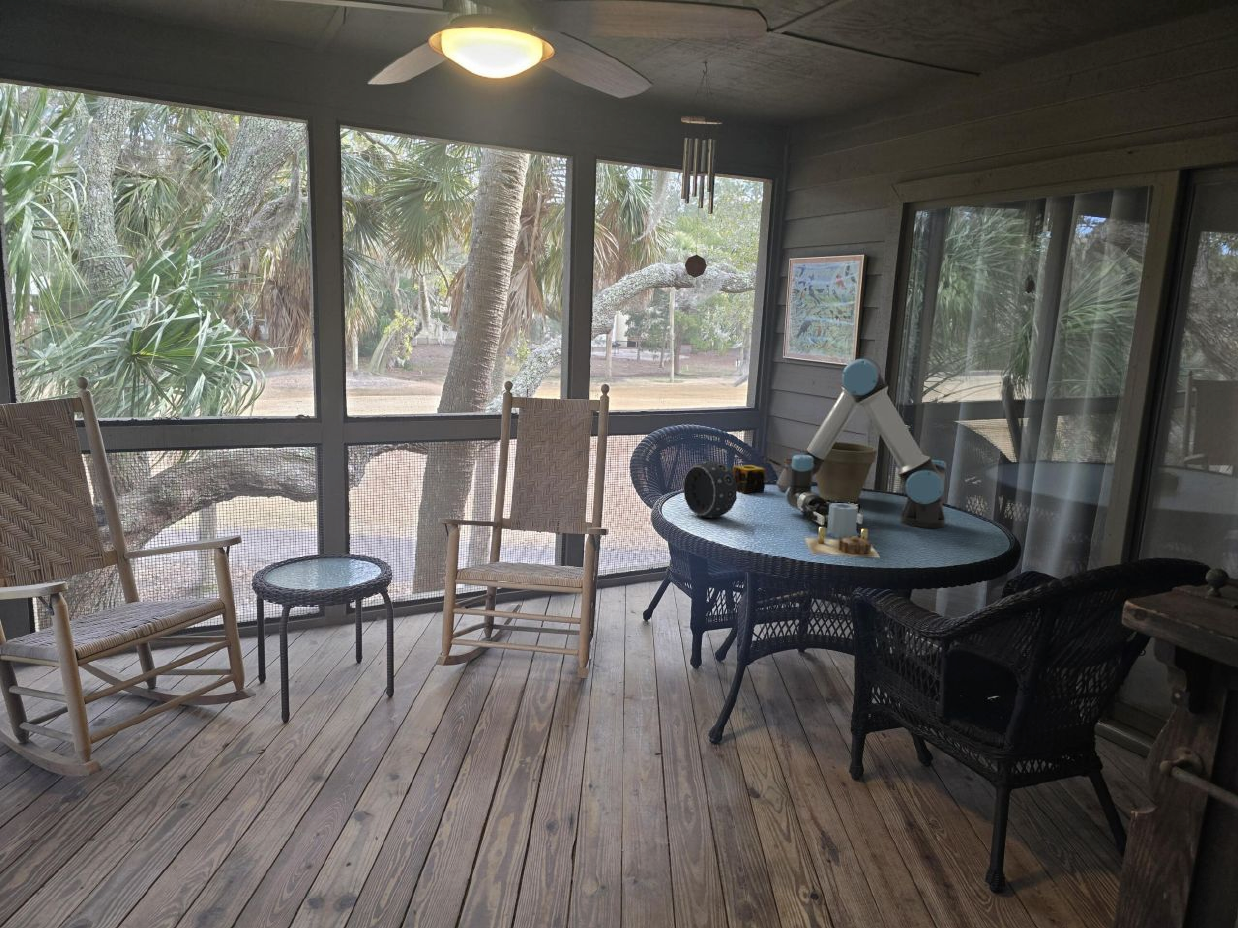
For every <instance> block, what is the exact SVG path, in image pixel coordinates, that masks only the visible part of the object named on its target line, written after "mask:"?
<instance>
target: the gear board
mask: <svg viewBox="0 0 1238 928" xmlns="http://www.w3.org/2000/svg"><path fill="white" fill-rule="evenodd" d="M804 540H805V542H806V545H807V546H808V549H809V551H810V554H816V555H818V554H819V555H830V556H831V555H832V556H835V555H836V556H847V557H848V556H849V557H861V558H862V557H863V558H864V557H866V558H879V559H881V557H880V555H879V554H878V552H877V551H876V549H875V548H874V546H873V545H872V544H871V551H870V554H864V555H859V554H854V555H852V554H850V553H843V552H841V551H842V550H839V549H838V546H839V540H840V539H831V538H830V539H829V538H825V543H824V544H819V543H818V538H813V537H811V538H810V537H804Z"/></svg>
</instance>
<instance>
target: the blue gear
mask: <svg viewBox="0 0 1238 928" xmlns="http://www.w3.org/2000/svg"><path fill="white" fill-rule="evenodd" d="M858 510H859V506H857V505H854V504H853V503H837V502H832V503H830V504H829V514H828V515H827V525H826V526H827V528H826V531H825V536H828V537H829V536H830V537H833V538H834V539H840V538H846V537H851V538H852V536H856V537H859V534H858V531H857V514H858Z"/></svg>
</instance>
